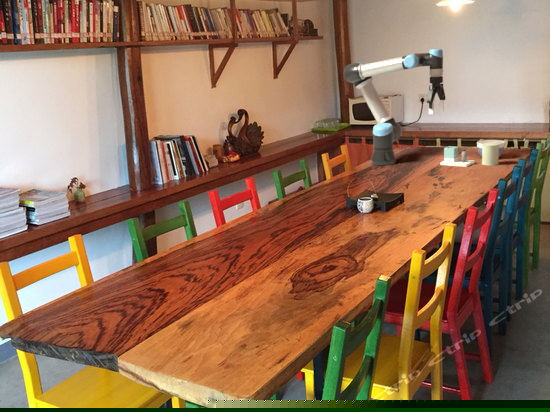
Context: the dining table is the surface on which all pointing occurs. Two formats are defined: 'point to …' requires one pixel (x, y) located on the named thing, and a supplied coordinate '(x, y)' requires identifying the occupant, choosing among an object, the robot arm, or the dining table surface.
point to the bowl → (500, 142)
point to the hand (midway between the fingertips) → (436, 112)
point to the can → (490, 154)
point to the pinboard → (460, 161)
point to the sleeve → (450, 154)
